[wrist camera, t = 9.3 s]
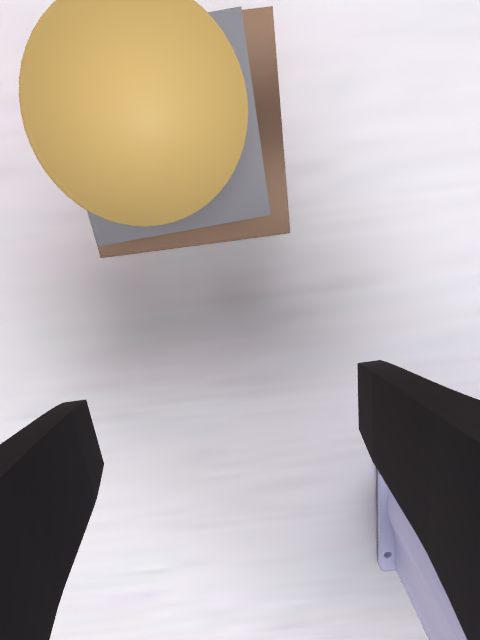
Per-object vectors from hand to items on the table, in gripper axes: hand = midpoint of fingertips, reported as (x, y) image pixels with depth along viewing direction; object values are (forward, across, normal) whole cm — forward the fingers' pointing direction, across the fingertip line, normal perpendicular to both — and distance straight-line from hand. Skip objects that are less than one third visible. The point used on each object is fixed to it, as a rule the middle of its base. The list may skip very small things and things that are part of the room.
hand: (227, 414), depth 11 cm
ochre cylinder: (+5, +1, -7) cm, 9 cm away
